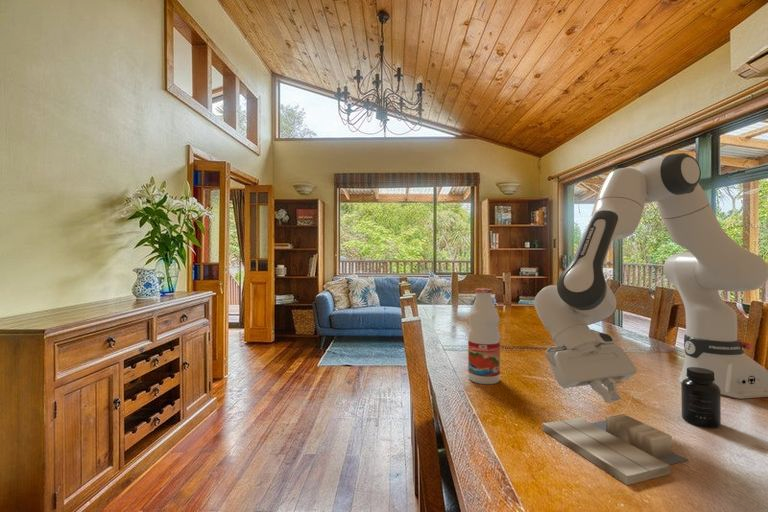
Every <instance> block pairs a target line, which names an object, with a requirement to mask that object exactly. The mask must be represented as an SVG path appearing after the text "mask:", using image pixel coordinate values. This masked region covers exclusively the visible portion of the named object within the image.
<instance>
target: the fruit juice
mask: <svg viewBox="0 0 768 512" xmlns="http://www.w3.org/2000/svg"><path fill="white" fill-rule="evenodd" d="M474 292H475V295H476V296H475V298H474V299H475V300H474V302H473V305H472V308H471V309H470V311H469V313H468V323H469V329H468V332H467V333H468V334H467V340H468V342H467V347H468V348H467V352H468V353H467V359H468V363H467V364H468V365H467V369H468V370H467V371H468V375H467V376H468V379H469V380H470V381H471V382H473V383H476V384H481V385H494V384H498V383H499V382H500V380H501V379H500V378H501V365H500V364H501V349H500V348H501V345H500V344H501V337H500V336H501V335H500V331H499V329H498V328H499V327H498V326H499V322H500V316H499V313H498V311H497V309H496V307H495V304H494V302H493V298H492V294H493V289H492V288H487V287H486V288H485V287H484V288H483V287H478V288H475V291H474Z"/></svg>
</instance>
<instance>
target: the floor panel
mask: <svg viewBox="0 0 768 512" xmlns="http://www.w3.org/2000/svg"><path fill="white" fill-rule="evenodd" d="M591 423H592V422H588V421H587V420H585V419H583V418H581V417H579V416H577V417H571V418H566V419H560V420H555V421H549V422H542V431H543V432H544V433H545V434H547V435H549V436H550V437H552V438H554V439H555V440H557V441H558V442H559V443H562V444H563V445H564V446H566V447H568V448H569V449H571V450H572V451H574V452H575V453H577V454H578V455H580V456H582V457H583V458H584V459H586V460H588V461H589V462H591V463H593V464H594V465H595V466H597V467H599V468H600V469H601V470H603V471H604V472H606V473H608V474H609V475H610V476H612V477H614V478H615V479H617V480H619V481H620V482H622V483H623V484H625V485H626V486H629V485H634V484H637V483H641V482H645V481H649V480H652V479H655V478H660V477H663V476H667V475H670V474H671V465H668V464H666V463H664V462H662V461H661V460H659V459H657V458H655V457H653V456H651V455H649V454H647V453H645V452H644V451H642V450H640V449H638V448H636V447H634V446H632V445H630V444H628V443H627V442H625V441H623V440H621V439H619V438H617V437H615V436H613V435H611V434H610V433H608V432H606V431H604V430H602V429H600V428H598V427H596V426H594V425H593V424H591Z"/></svg>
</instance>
